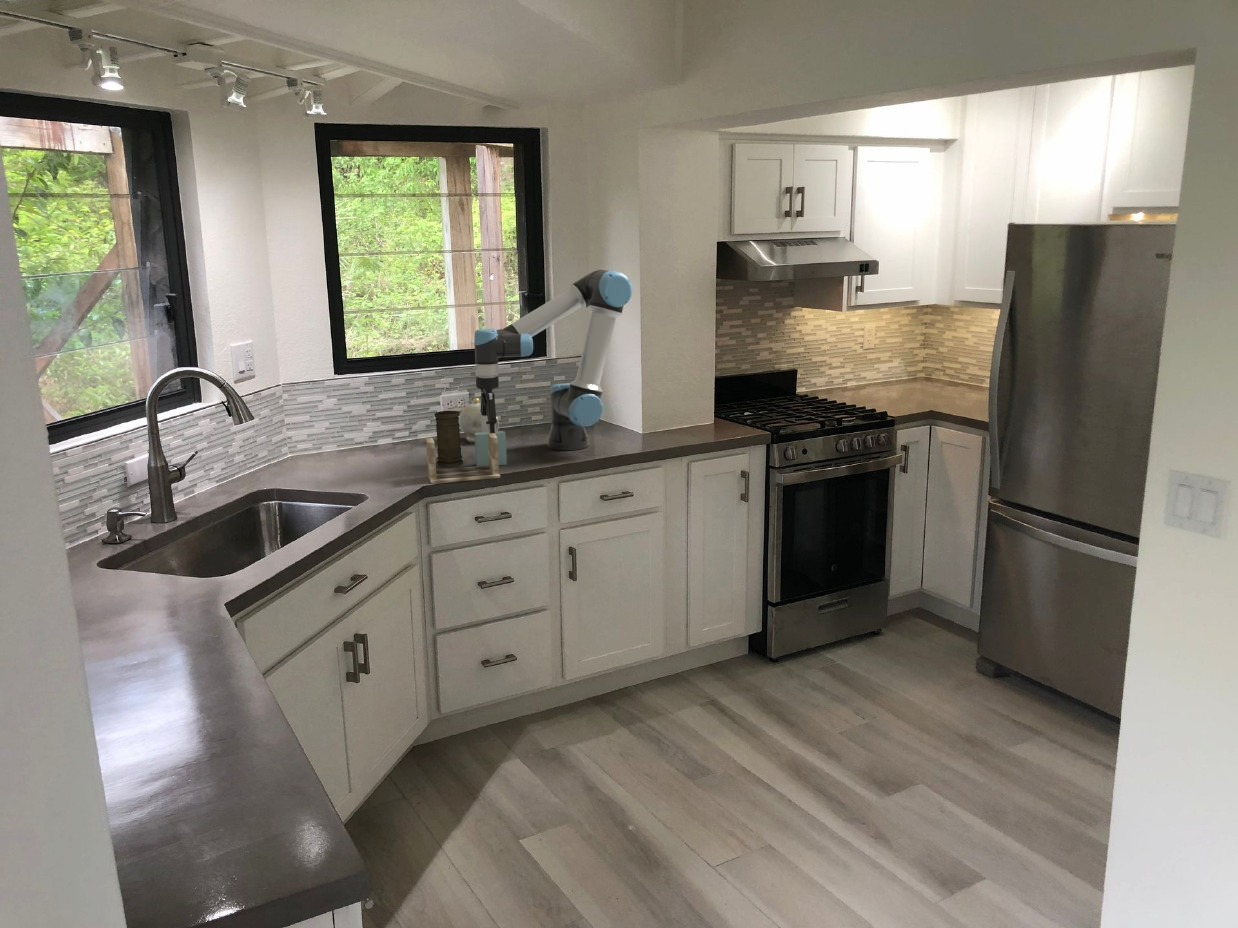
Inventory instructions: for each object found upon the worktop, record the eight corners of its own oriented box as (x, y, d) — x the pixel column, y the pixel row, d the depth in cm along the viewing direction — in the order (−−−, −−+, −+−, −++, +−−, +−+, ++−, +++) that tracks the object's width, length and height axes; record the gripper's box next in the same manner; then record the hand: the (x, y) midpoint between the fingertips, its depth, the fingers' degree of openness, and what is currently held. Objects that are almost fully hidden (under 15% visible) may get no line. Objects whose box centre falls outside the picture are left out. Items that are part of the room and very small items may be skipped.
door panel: (505, 462, 332) (503, 430, 330) (506, 464, 329) (505, 432, 326) (476, 464, 330) (474, 432, 327) (477, 466, 326) (475, 435, 324)
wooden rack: (494, 469, 322) (493, 432, 319) (500, 477, 312) (498, 438, 309) (427, 475, 317) (425, 436, 313) (431, 483, 306) (428, 444, 303)
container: (458, 468, 325) (455, 415, 321) (432, 467, 327) (429, 414, 322) (467, 461, 333) (464, 410, 329) (442, 460, 335) (439, 409, 331)
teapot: (451, 441, 364) (448, 398, 360) (476, 435, 375) (474, 393, 371) (486, 447, 354) (484, 403, 350) (511, 440, 364) (509, 397, 360)
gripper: (470, 371, 333) (473, 431, 338) (481, 382, 309) (483, 447, 314) (492, 370, 335) (494, 430, 340) (504, 381, 311) (506, 445, 316)
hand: (489, 438), depth 327 cm, fingers open, 13 cm apart
